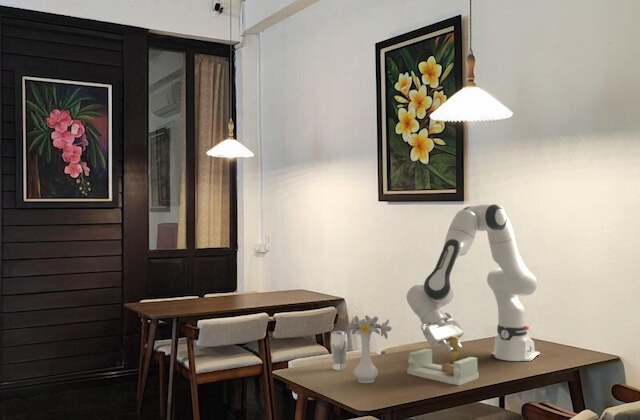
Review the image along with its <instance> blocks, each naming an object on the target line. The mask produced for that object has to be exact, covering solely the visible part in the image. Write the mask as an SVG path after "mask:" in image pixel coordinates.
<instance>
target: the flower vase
mask: <svg viewBox="0 0 640 420" xmlns="http://www.w3.org/2000/svg"><path fill="white" fill-rule="evenodd" d="M364 317H365V319H364V318H363V319H360V318H359V316H357V315H355V316H354V317H352V319H351V322H349V323H348V324H347V329H346V330H347V331H345V332H346V333H347V334H348V333H349V332H350V331H351V335H355V334H356V333H357V335H360V337H361V357H360V361H359V363H358V364H357V365H356V367H355V368H354V370H353V375H354V377H355V379H357V382H358V383H360V384H372V383H374V382H375V380H376V378H377V377H378V376H379V371H378V368H377V367H376V366H375V365H374V364H373V362H372V358H371V352H370V351H371V348H370V347H371V346H370V345H371V343H370V342H371V336H372V334H373V333H372V332H374V333H376V334H377V335H379V336H381V337H384V338H385V340H387V339H388V333H387V332H390V331H392V326H389V323H390V320H389V319H387V320H386V321H385V322H382V323H381V324H380V323H377V322H378V321H379V318H378V316H374V317H373V318H372V317H370V316H369V315H365V316H364ZM346 333H345V334H346Z"/></svg>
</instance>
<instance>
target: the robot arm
mask: <svg viewBox="0 0 640 420" xmlns="http://www.w3.org/2000/svg"><path fill="white" fill-rule="evenodd" d="M513 230H514V229H513V227H512V224H511V221H510V219H509V217H508V213H507V211H506V209H505V208H504V207H503V206H501V205H499V204H478V205H470V206H466V207H464V208H462V209H460V210H459V211H458V212H457V213H456V214H455V216H454V217H453V219H452V221H451V223H450V225H449V227H448V230H447V233H446V235H445V239H444V244H443V248H442V251H441V253H440V256H439V258H438V261H437V263H436V264H435V268H434V269H433V270H432V272H430V274H429V275H428V276H427V277H426V279H425V280H424V283H423V284H415V285H413V286H412V287H411V288H410V289H409V290H408V292H407V294H406V297H405V298H406V302H407V303H408V305H409V307H410V308H411V310H412V312H413V313H414V314H415V315H417V317H418V318H419V321H420V322H421V325H420V329H421V331H422V334H423V336H424V338H425V339H426V342H428V344H429V345H430V346H432V347H434V346H437V345H440V346H441V347H443V348H444V349H445V350H446V351H447V352H448V353H450V352H451V351H452V350H453V348H452V346H450V344H448V342H450V337H451V336H456V337H459V339H461V337H463V335H465V334H464V330H463V329H462V327H461V326H460V325H459V323H458V322H457V321H456V319H454V316H453V314H451V313H449V312H445V311H442V310H441V309H440V308H442V307H444V306H446V305H448V304H449V303H450V302H451V301H452V300H453V297H454V292H453V289H452V286H451V281H450V277H451V273H452V271H453V268H454V266H455V263H456V261H457V259H458V258H459V257H462V256H465V255H467V254H468V253H469V251H470V249H471V248H472V245H473V242H474V240H475V237H476V233H477V231H478V232H479V231H480V232H484V231H486V232H487V239H488V243H489V248H490V252H491V256H492V260H493V261H494V262H495V263H496V264H497V265H498V266H499V267H497V268H493V269H491V270H490V271H489V272H488V274H487V277H486V282H487V283H486V284H488V286H489V288H490V289H491V290H492V293H493V294H494V297H495V301H496V304H497V311H498V312H497V314H498V317H497V319H498V320H497V321H498V323H497V327H496V329H497V335H496V336H495V337H494V347H493V348H494V349H493V350H494V351H491V355H492V354H493V355H492V356H494V355H495V356H494V357H495V358H496V359H497V360H502V361H509V362H510V361H511V362H532V361H534V360H535V359H536V358H537V357H536V356H537V355H539V354H540V355H541V352H540V351H538V350H537V351H536V350H535V341H534V340H532V338H531V337H530V336H529V335H528V332H527V331H529V330H530V325H527V324H526V325H525V319H526V317H525V315H526V314H525V311H526V310H525V307H524V306H523V304H522V303H521V301H520V300H519V297H521V296H523V297H524V296H525V297H526V296H531V295H532V294H534V293H535V291H536V290H537V286H538V282H537V278H536V276H535V275H534V274H533V273H532V272H531V271H530V270H529V269H528V268H527V266H526V264H525V263H524V261H523V259H522V257H521V255H520V253H519V250H518V246H517V242H516V237H515V233H514V231H513ZM518 296H519V297H518ZM462 345H463V344H461V342H460V340H459V350H461V349H462V348H463V346H462ZM540 355H539V356H540ZM535 357H536V358H535ZM534 358H535V359H534ZM533 359H534V360H533ZM531 360H532V361H531Z"/></svg>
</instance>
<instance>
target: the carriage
mask: <svg viewBox="0 0 640 420" xmlns="http://www.w3.org/2000/svg"><path fill="white" fill-rule="evenodd" d="M459 341H460V338H459V337H456V336H451V337H450V341H449V346H452V348H453V350H452V351H451V352H449V356H450V357H449V361H446V362H444V363H441V365H442V372H445V373H449V374H454V372H453V369H454V362H456V361H459V360H460V359H459V356H460V355H459V350H460V349H459Z"/></svg>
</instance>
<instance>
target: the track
mask: <svg viewBox="0 0 640 420" xmlns="http://www.w3.org/2000/svg"><path fill="white" fill-rule="evenodd" d="M407 362H408V367H407V369H406V371H407V372H406V374H407V375H410V374H411V376H414V377H415V376H416V377H419V378H424V379H429V380H432V381H438V382H442V383H447V384H451V385H455V386H462V385H464V384H466V383H467V384H468V383H470V382H472V381H475V380H478V379H479V378H480V377H479V376H480V375H479V374H480V373H479V372H478V357H473V356H469V357H466V358H462V359H459V361H456V362H454V369H453V372H454V374H449V373H445V372H442V364H437V363H433V349H432V348H424V349H420V350H416V351H412V352H409V353H408V361H407Z"/></svg>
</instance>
